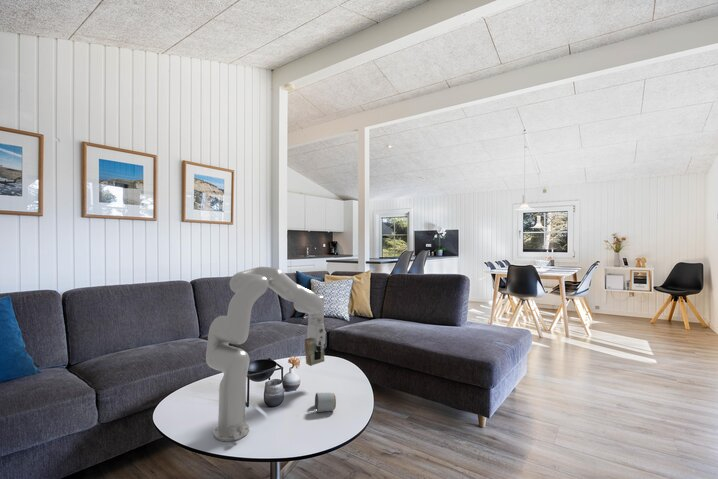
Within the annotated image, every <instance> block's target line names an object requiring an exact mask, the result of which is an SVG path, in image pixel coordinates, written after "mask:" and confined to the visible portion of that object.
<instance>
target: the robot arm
mask: <svg viewBox="0 0 718 479" xmlns="http://www.w3.org/2000/svg"><path fill="white" fill-rule="evenodd" d="M229 287H230V290H231V291H232V292H233V293H235V294H233V296H232V298H231V299H230V301H229V304H228V307H227V314H226V315H219V316H217V317H216V318H215V319H213V321H212V322H211V324H210V326H209V329H208V333H207V335H208V336H207V341H206V343H207V344H206V351H205V361H206V362H205V363H206V365H207V366H208V367H209V368H211V369H213V370H216V371H218V372H221V373H223V376H222V378H221V380H220V382H219V386H218V387H219V388H218V424H217V425H218V426H216V427H215V429H214V430H213V437H214V439H216V440H217V441H222V442H234V441H239V440H240V439H242V438H245V436H247V434H249V432H250V426H249V424H247V422H246V405H247V404H246V403H247V402H246V401H247V400H246V399H247V378H248V371H249V367H250V356H249V354H248V352H247V351H245V349H242V348H239V347H236V346H233V345H242V344H244V343H245V342H246V341H247V340H248V337H249V334H250V324H251V316H252V310H253V309H252V308H253V306H254V304H255V302H257V300H258V299H260V297H261V296H262V295H263V294H265V293H266V291H267V290H268V288H269V289H270V290H272V291H274V292H275V293H276V294H277V295H278V296H280V297H281V298H282V299H284V300H286V301H288V302H292V303H293V308H294V309H295V311H297V312H299V313H304V314H307V315H308V318H307V319H308V320H307V321H308V322H307V331H306V332H307V333H306V339H308V338H310V339H312V340H313V341H314V345H315V358H314V359H315V360H319V359H321V351H322V348H325V344H326V330H325V329H326V327H325V324H324V322H325V321H324V320H325V296H324V295H322V294H316V293H315V292H313V291H312V290H310V289H308V288H307V287H306V288H305V287H304V286H302V285H301V284H298V283H296V282H295V281H294V280H293V279H291V278H290V277H289V276H288V275H287V274H286V273H285V272H284V271H282V270H281V269H280V268H277V267H272V266H271V267H269V266H257V267H253V268H250V269H246V270H243V271H238V272H236V273H235V274H233V275H232V276H231V278H230V280H229ZM229 344H232V345H229ZM318 344H319V345H318ZM317 346H319V347H318V348H317Z"/></svg>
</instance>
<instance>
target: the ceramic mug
mask: <svg viewBox="0 0 718 479" xmlns="http://www.w3.org/2000/svg"><path fill="white" fill-rule="evenodd" d="M336 406H337V398H336V394H335V393H334V392H315V396H314V407H317V408H315V409H317V411H316V410H315V413H325V412H331V411H335V409H336ZM324 411H325V412H324Z"/></svg>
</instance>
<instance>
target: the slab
mask: <svg viewBox="0 0 718 479" xmlns="http://www.w3.org/2000/svg"><path fill="white" fill-rule="evenodd" d="M318 345H319V344H318ZM318 347H319V346H317V348H318ZM324 348H325V347H324ZM324 348H322V351H321V359H319V360H315V359H314V358H315V345H314V341H313V340H312V339H310V338H308V339H307V338H305V339H304V350H305V364H306V365H308V366H310V367H311V366H314V365H317V364H320V363H324V362H325V349H324Z"/></svg>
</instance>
